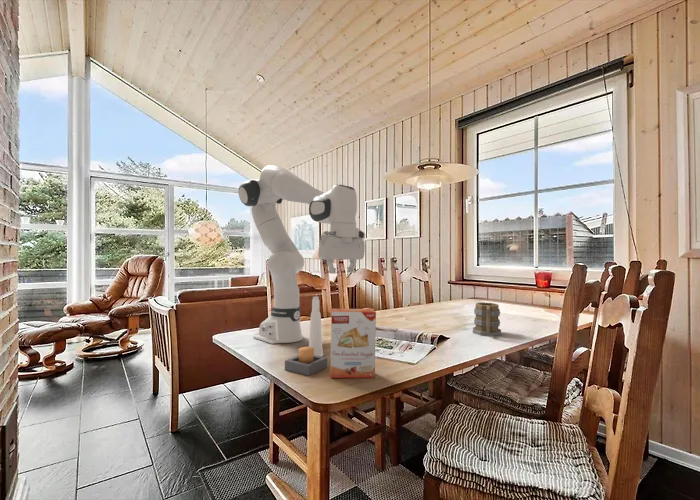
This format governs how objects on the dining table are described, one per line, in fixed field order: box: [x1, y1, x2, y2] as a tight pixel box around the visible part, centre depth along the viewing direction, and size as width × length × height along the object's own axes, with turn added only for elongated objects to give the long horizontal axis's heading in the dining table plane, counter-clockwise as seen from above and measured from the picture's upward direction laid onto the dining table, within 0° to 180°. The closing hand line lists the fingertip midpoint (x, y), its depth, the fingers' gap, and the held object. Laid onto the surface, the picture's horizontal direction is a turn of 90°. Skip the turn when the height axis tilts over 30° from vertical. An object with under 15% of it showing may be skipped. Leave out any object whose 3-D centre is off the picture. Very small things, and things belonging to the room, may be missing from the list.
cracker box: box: [330, 308, 377, 379], centre depth 112 cm, size 14×6×21 cm, turn 93°
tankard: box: [472, 302, 502, 337], centre depth 167 cm, size 20×13×15 cm, turn 158°
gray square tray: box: [284, 354, 328, 377], centre depth 119 cm, size 10×10×3 cm
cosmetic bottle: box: [308, 295, 324, 357], centre depth 133 cm, size 6×6×22 cm
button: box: [298, 346, 314, 363], centre depth 119 cm, size 5×5×4 cm
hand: (341, 272), depth 121 cm, fingers open, 8 cm apart
